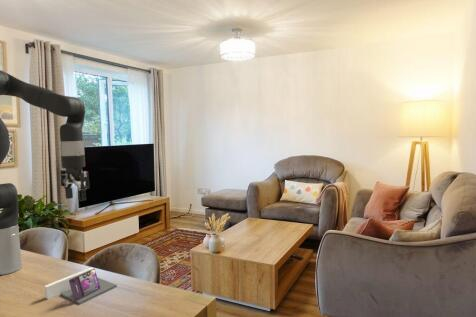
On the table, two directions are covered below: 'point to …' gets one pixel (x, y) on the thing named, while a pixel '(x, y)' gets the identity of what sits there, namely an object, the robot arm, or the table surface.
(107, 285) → the rubber mat
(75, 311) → the table surface
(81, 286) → the purple framed toy figure
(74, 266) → the table surface
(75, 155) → the robot arm
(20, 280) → the table surface
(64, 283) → the low wall
